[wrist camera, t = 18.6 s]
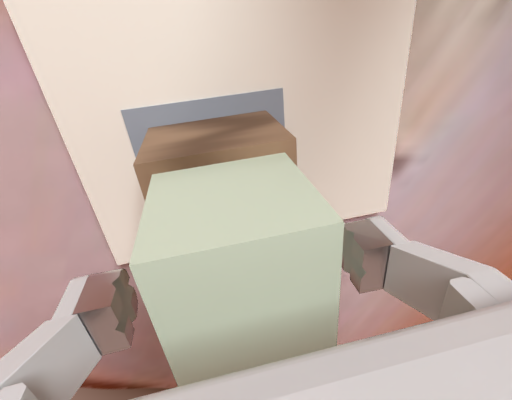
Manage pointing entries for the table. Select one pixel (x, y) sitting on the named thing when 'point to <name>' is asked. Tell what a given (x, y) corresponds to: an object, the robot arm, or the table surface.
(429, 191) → the table surface
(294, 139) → the walnut cube
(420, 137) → the table surface
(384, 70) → the white flat board
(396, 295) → the robot arm
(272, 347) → the sage cube
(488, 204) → the table surface
